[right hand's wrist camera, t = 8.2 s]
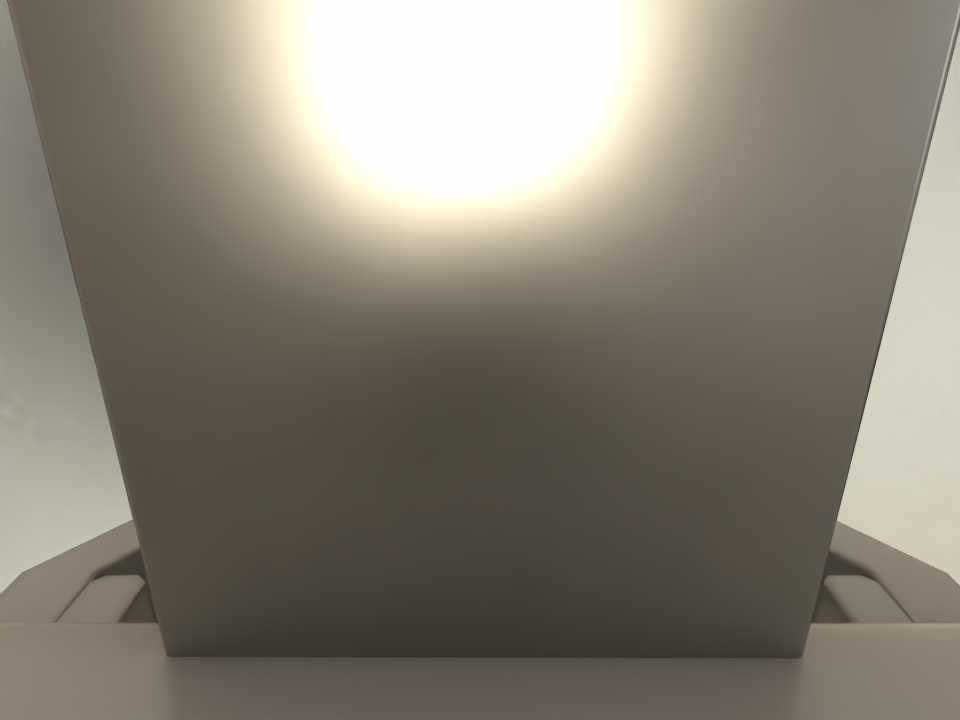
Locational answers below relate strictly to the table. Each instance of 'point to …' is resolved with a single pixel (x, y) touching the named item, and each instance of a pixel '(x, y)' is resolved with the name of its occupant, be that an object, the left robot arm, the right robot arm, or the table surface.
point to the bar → (485, 306)
